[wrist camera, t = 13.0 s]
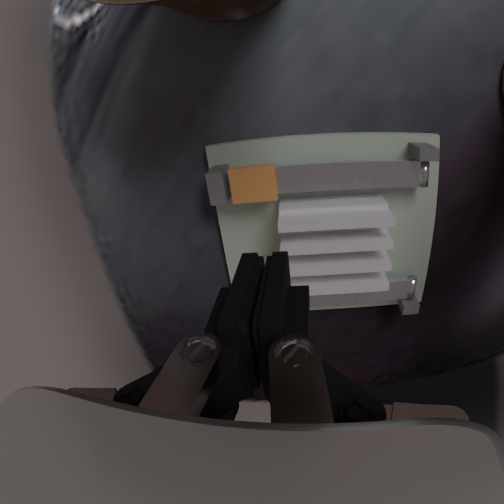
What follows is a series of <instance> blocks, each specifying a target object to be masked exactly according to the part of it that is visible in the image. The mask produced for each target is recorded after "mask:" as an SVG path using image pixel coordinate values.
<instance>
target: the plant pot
mask: <svg viewBox="0 0 504 504" xmlns="http://www.w3.org/2000/svg"><path fill="white" fill-rule="evenodd" d="M87 1H91V2H95V3H101V4H109V5H137V4H146V5H163V6H166V7H170V8H173V9H176V10H179V11H182V12H185V13H188V14H191V15H193V16H195V17H198V18H202V19H206V20H210V21H221V22H225V21H236V20H241V19H245V18H249V17H252V16H255V15H257V14H260V13H262V12H264V11H266V10H267V9H269V8H270V7H272V6H273V5H275V4H276V3H277V2H278V1H279V0H87Z"/></svg>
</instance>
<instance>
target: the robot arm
mask: <svg viewBox="0 0 504 504" xmlns="http://www.w3.org/2000/svg"><path fill="white" fill-rule="evenodd" d="M502 91H503V98H504V69H503V78H502ZM261 379H262V385H263V389H264V393H265V398H266V399H267V400H268V401H269V402H270V405H271V423H261V422H244V421H234V419H235V417H236V414H237V412H238V409H239V402H240V401H242V400H243V399H245V398H246V397H253V393H254V389H259V388H260V384H261ZM0 504H504V445H503V443H502V442H501V440H500V438H499V437H498V436H497V435H496V434H495V433H494V432H493V431H492V430H491V429H489V428H487V427H485V426H483V425H480V424H477V423H474V422H470V421H469V419H468V416H467V415H466V413H465V412H464V411H463V410H461V409H460V408H458V407H454V406H443V405H423V404H409V403H398V402H394V404H393V405H385V404H383V403H382V402H381V401H379V400H378V399H377V398H376V397H374V396H373V395H371V394H370V393H368V392H367V391H365V390H364V389H363V388H361V387H360V386H358V385H357V384H355V383H354V382H352V381H351V380H350V379H348V378H347V377H345V376H344V375H342V374H341V373H340V372H338V371H337V370H335V369H334V368H332V367H331V366H330V365H328V364H327V363H325V362H324V361H323V360H322V359H321V354H320V349H319V346H318V344H317V342H316V341H315V340H313V339H312V338H311V337H310V297H309V285H301V286H291V280H290V268H289V256H288V251H278V252H273V253H272V256H267V258H266V263H264V257H263V256H259V255H258V253H257V252H255V253H242V255H241V258H240V261H239V264H238V266H237V269H236V272H235V275H234V278H233V281H232V283H231V286H230V287H223V288H221V290H220V292H219V294H218V297H217V299H216V302H215V305H214V307H213V310H212V312H211V315H210V317H209V320H208V323H207V325H206V328H205V330H204V333H196V334H192V335H190V336H187V337H186V338H184V339H183V340H181V342H180V343H179V344H178V345H177V346H176V348H175V350H174V351H173V353H172V354H171V356H170V357H169V359H168V360H167V362H166V363H165V365H164V366H163V367H161V368H159V369H157V370H155V371H153V372H151V373H149V374H147V375H145V376H143V377H141V378H139V379H137V380H135V381H133V382H131V383H129V384H127V385H125V386H124V387H122V388H121V389H120V390H119V391H117V390H116V388H69V389H67V390H65V389H62V388H55V387H45V386H33V387H25V388H21V389H18V390H15V391H14V392H12V393H11V394H10V395H9V396H8V397H7V398H6V399H5V400H4V402H3V403H2V404H1V405H0Z"/></svg>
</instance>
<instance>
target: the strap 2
mask: <svg viewBox="0 0 504 504" xmlns="http://www.w3.org/2000/svg"><path fill="white" fill-rule="evenodd" d="M387 279H388V282H389V284H390V285H389V291H377V292H363V293H348V294H331V295H313V296H309V297H310V307H314V306H329V305H343V304H355V303H367V302H378V301H389V300H399V299H413V298H414V294H415V288H416V283H417V277H416V276H414V275H409V276H406V277H395V278H387Z"/></svg>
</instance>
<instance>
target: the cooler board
mask: <svg viewBox="0 0 504 504" xmlns="http://www.w3.org/2000/svg"><path fill="white" fill-rule="evenodd" d="M439 147H440V135H438V134H432V133H408V132H347V133H322V134H304V135H290V136H278V137H267V138H257V139H248V140H240V141H232V142H224V143H217V144H210V145H207V146H205V149H206V155H207V160H208V166H209V171H208V172H207V173H206V174H205V178H206V183H207V189H208V194H209V199H210V204H211V206H216V210H217V215H218V220H219V225H220V231H221V236H222V241H223V246H224V251H225V256H226V261H227V266H228V271H229V276H230V281H231V283H232V281H233V278H234V275H235V272H236V269H237V266H238V264H239V261H240V258H241V255H242V253H255V252H257V253H258V255H259V256H263V257H264V263H266V258H267V256H272V253H273V252H278V251H288V256H289V268H290V280H291V286H301V285H309V296H313V295H331V294H348V293H363V292H377V291H389V285H390V284H389V282H388V279H387V278H395V277H406V276H409V275H414V276H416V277H417V283H416V288H415V294H414V298H413V299H399V300H389V301H378V302H367V303H355V304H343V305H329V306H314V307H310V310H321V309H338V308H354V307H368V306H380V305H392V304H398V305H399V307H400V310H401V313H402V315H409V314H418V312H419V308H420V304H419V302H421V299H422V294H423V290H424V285H425V280H426V274H427V269H428V263H429V257H430V251H431V244H432V237H433V230H434V222H435V213H436V202H437V190H438V175H439ZM370 159H417V160H419V161H429V182H428V187H425V188H424V187H392V188H364V189H342V190H324V191H308V192H294V193H281V194H278V200H276V201H264V202H252V203H241V204H233V200H232V194H231V188H230V182H229V176H228V169H229V168H231V167H240V166H249V165H259V164H270V163H274V165H279V164H292V163H306V162H321V161H341V160H370Z"/></svg>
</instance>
